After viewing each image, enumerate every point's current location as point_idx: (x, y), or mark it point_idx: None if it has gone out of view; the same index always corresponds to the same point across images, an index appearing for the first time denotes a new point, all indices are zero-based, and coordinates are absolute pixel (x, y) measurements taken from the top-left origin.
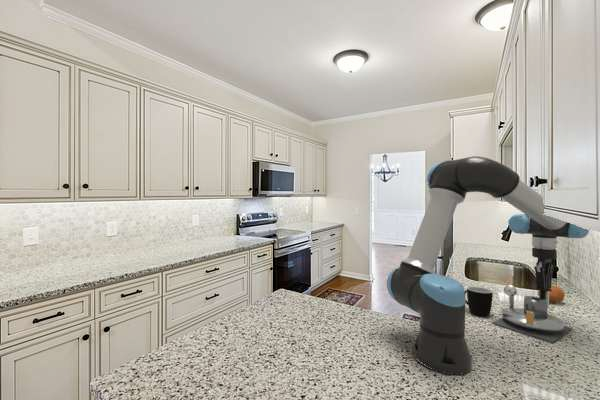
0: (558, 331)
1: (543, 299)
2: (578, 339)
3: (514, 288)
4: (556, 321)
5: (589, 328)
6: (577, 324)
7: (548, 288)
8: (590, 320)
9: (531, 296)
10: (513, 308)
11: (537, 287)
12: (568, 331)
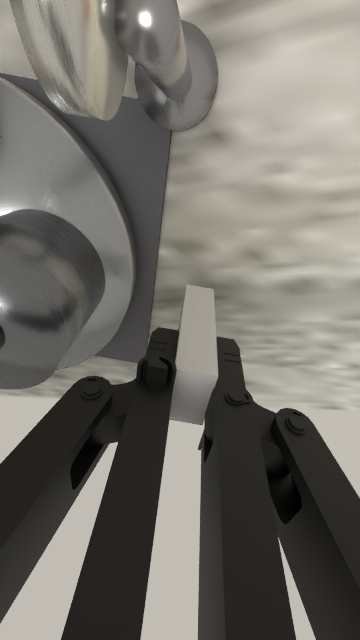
0: None
1: (29, 370)
2: (57, 371)
3: (38, 74)
4: None
5: None
6: None
7: (202, 449)
8: (339, 402)
9: (22, 298)
10: (39, 122)
11: (63, 400)
12: (99, 353)
